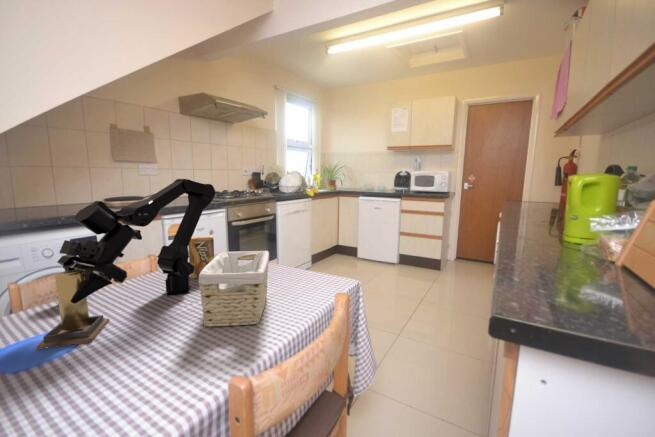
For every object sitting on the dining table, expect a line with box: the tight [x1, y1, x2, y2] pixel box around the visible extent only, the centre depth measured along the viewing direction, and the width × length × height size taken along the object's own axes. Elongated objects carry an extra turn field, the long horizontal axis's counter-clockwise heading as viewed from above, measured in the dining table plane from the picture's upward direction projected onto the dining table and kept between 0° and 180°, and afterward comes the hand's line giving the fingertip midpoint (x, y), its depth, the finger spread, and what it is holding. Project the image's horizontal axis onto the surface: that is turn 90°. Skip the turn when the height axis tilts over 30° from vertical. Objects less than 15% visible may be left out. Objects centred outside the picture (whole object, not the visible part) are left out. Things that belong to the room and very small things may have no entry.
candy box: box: [188, 235, 215, 279], centre depth 109 cm, size 9×4×15 cm, turn 116°
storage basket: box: [198, 250, 270, 327], centre depth 82 cm, size 24×16×15 cm
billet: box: [54, 270, 90, 331], centre depth 67 cm, size 5×5×13 cm
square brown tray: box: [36, 314, 110, 350], centre depth 68 cm, size 10×10×2 cm
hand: (65, 300), depth 66 cm, fingers closed on billet, 5 cm apart
